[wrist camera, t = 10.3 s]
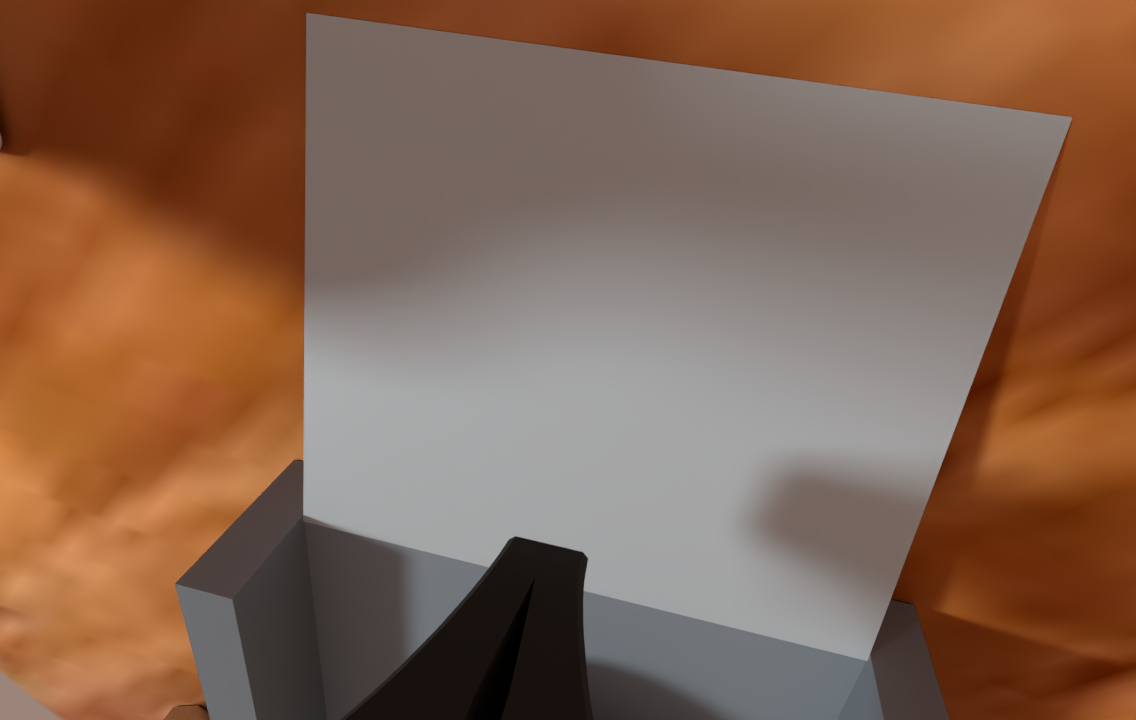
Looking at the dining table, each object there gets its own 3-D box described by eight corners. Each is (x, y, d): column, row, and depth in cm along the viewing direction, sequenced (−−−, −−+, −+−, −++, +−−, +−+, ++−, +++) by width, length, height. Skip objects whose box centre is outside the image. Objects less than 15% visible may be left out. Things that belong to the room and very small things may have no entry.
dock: (343, 745, 29) (258, 906, 24) (269, 4, 15) (25, 2, 10) (759, 868, 27) (766, 1077, 21) (1134, 121, 13) (1417, 202, 7)
